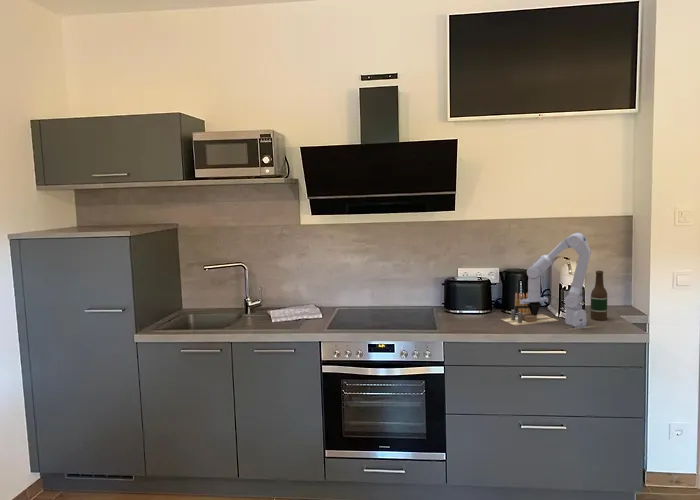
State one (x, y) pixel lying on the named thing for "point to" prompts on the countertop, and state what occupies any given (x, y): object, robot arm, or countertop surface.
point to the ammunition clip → (520, 307)
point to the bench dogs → (518, 316)
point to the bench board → (540, 319)
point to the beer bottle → (599, 299)
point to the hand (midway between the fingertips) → (534, 317)
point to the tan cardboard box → (529, 317)
